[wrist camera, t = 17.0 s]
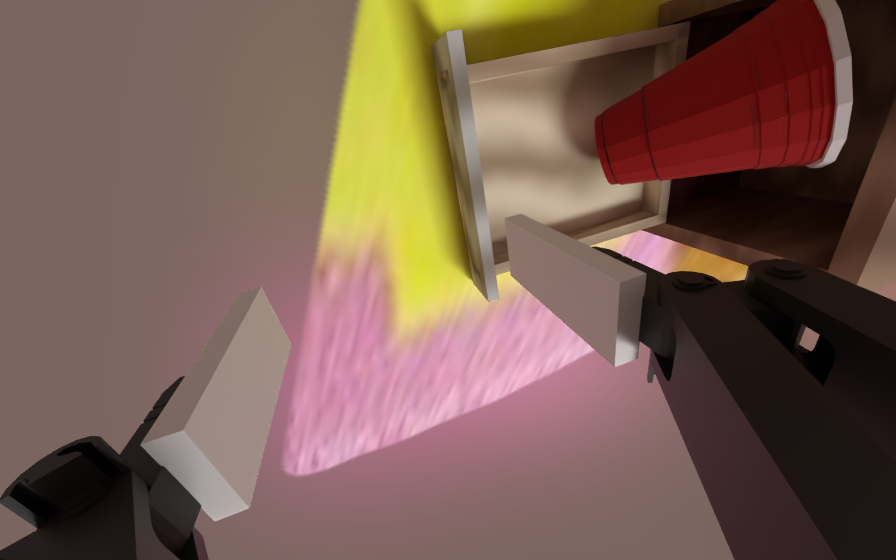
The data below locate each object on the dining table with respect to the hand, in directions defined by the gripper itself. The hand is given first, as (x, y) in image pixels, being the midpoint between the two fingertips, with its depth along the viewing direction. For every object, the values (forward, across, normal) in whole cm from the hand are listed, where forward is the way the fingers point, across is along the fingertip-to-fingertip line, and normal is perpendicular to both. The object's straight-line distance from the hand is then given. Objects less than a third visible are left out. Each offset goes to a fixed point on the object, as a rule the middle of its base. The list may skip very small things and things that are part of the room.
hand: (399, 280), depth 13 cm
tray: (+15, +17, 0) cm, 23 cm away
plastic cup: (+12, +19, 0) cm, 23 cm away
